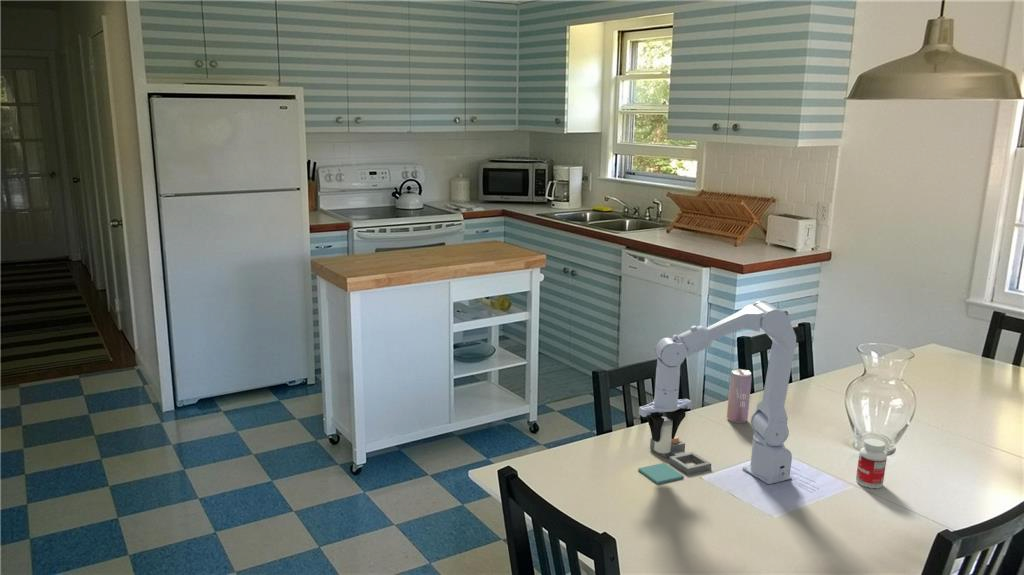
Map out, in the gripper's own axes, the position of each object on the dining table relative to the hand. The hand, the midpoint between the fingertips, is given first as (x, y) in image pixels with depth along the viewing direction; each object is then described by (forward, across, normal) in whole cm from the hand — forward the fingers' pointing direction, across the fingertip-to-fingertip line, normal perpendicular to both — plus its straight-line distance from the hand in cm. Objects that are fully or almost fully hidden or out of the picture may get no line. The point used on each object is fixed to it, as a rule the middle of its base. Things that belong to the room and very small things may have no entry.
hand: (663, 438), depth 192 cm
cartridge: (+3, 0, 0) cm, 3 cm away
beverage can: (+10, -43, -20) cm, 48 cm away
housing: (+10, -10, -6) cm, 15 cm away
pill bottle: (+10, -45, +25) cm, 52 cm away
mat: (+10, 0, 0) cm, 10 cm away
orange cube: (+9, -10, -11) cm, 17 cm away
